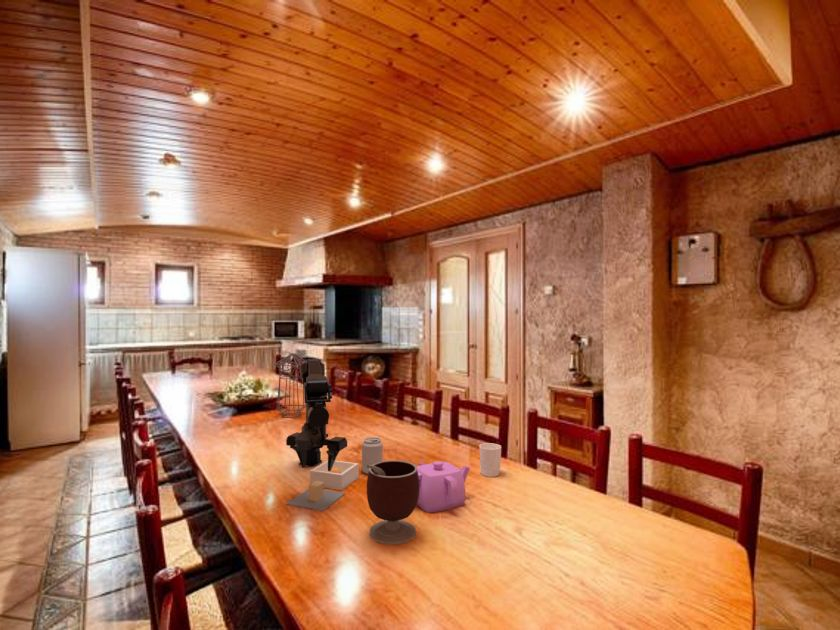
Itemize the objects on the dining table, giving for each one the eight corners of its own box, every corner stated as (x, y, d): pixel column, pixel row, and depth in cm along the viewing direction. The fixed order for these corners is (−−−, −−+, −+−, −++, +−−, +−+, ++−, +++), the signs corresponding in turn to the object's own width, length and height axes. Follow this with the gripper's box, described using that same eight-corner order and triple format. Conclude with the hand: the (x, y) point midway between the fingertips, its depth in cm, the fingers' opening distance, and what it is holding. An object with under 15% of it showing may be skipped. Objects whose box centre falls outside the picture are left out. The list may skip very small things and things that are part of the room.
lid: (285, 506, 135) (285, 488, 135) (309, 490, 148) (310, 474, 148) (323, 513, 131) (323, 494, 131) (344, 496, 143) (345, 479, 143)
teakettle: (403, 510, 133) (403, 468, 132) (419, 488, 149) (419, 451, 149) (459, 518, 128) (460, 474, 128) (470, 494, 144) (470, 456, 144)
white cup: (503, 471, 165) (503, 444, 165) (497, 479, 158) (498, 450, 157) (482, 468, 168) (483, 442, 168) (476, 475, 161) (476, 447, 161)
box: (310, 485, 150) (310, 470, 150) (328, 473, 162) (328, 459, 162) (341, 490, 146) (341, 475, 146) (358, 477, 158) (358, 463, 158)
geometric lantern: (272, 418, 244) (272, 354, 243) (285, 412, 259) (285, 352, 259) (299, 419, 241) (299, 355, 241) (311, 413, 256) (311, 352, 256)
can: (379, 476, 159) (379, 442, 159) (358, 474, 161) (359, 441, 161) (384, 469, 167) (385, 436, 167) (365, 467, 168) (365, 435, 168)
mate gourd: (395, 515, 129) (395, 446, 128) (429, 533, 119) (430, 457, 119) (350, 534, 118) (351, 458, 118) (384, 555, 108) (385, 472, 108)
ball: (326, 480, 153) (326, 468, 153) (332, 476, 157) (332, 465, 157) (337, 482, 152) (337, 470, 152) (342, 477, 155) (342, 466, 155)
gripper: (275, 422, 134) (274, 474, 134) (329, 427, 128) (329, 482, 128) (296, 414, 145) (296, 462, 145) (348, 419, 139) (348, 469, 139)
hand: (316, 469), depth 139 cm, fingers open, 9 cm apart
